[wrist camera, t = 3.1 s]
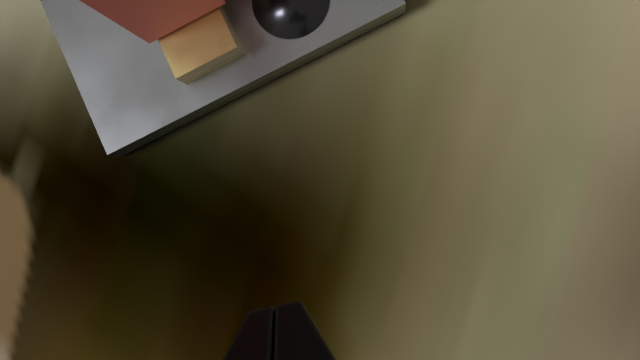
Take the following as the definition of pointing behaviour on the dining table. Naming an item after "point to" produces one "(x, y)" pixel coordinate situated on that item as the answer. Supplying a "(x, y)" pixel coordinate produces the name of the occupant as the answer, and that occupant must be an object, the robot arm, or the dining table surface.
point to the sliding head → (153, 14)
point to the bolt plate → (197, 58)
